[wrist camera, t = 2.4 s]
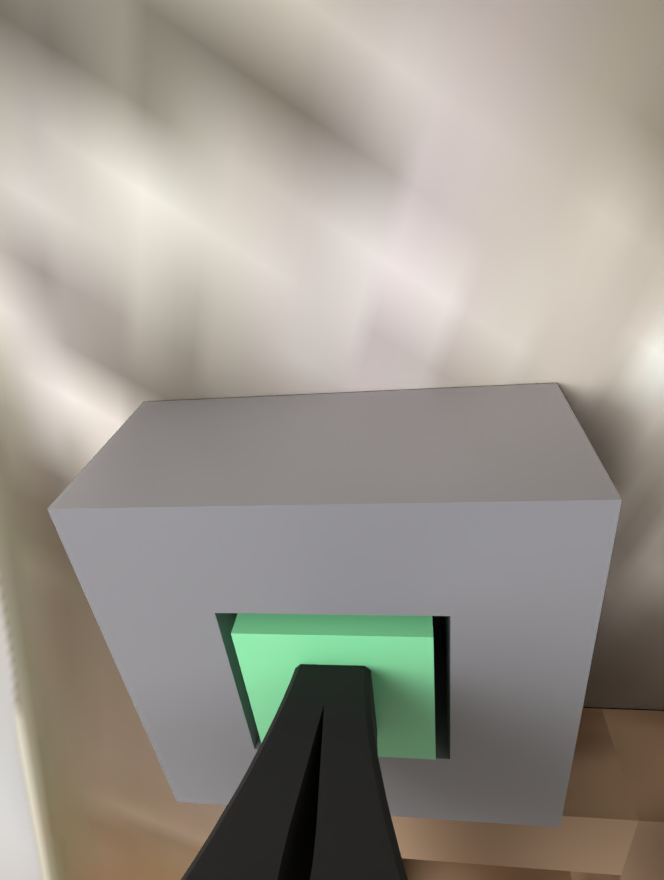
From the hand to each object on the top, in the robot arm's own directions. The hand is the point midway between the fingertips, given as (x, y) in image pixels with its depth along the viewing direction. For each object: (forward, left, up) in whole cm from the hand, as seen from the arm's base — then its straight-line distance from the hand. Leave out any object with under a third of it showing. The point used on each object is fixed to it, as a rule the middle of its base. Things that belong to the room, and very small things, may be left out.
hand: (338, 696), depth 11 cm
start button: (0, 0, -3) cm, 3 cm away
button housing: (0, 0, -4) cm, 4 cm away
